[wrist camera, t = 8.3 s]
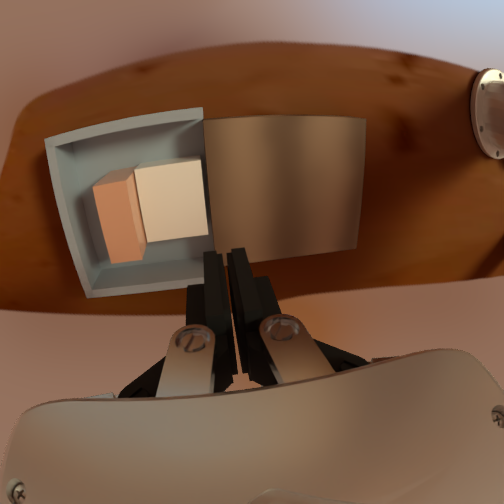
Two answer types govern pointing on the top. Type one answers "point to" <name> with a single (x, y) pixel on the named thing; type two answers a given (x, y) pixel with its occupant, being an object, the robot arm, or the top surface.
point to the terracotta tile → (121, 215)
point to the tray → (85, 210)
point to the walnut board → (284, 183)
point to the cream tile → (172, 198)
